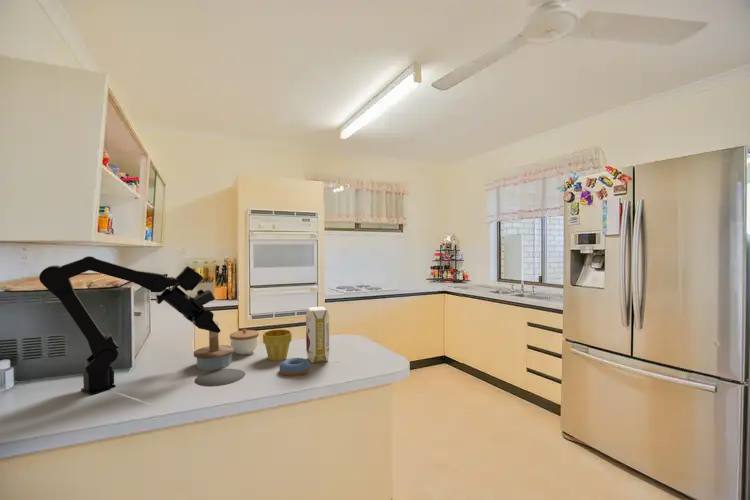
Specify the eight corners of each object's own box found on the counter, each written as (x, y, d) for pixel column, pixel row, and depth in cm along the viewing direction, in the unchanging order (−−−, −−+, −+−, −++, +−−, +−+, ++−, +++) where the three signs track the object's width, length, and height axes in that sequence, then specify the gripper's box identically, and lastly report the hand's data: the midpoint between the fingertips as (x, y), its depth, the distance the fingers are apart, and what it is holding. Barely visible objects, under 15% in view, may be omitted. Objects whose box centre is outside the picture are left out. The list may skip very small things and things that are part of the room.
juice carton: (325, 354, 141) (324, 305, 141) (330, 361, 133) (330, 309, 133) (305, 357, 139) (305, 307, 138) (309, 364, 131) (309, 311, 130)
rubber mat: (216, 391, 108) (216, 389, 108) (183, 382, 115) (183, 380, 115) (255, 374, 121) (255, 373, 121) (223, 367, 128) (223, 366, 128)
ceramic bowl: (211, 372, 122) (211, 359, 122) (190, 367, 127) (189, 354, 127) (237, 363, 132) (237, 350, 132) (217, 358, 137) (216, 346, 137)
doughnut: (294, 379, 116) (294, 364, 116) (272, 374, 121) (273, 360, 122) (315, 373, 124) (316, 359, 125) (294, 369, 130) (294, 355, 130)
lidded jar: (250, 358, 137) (249, 333, 137) (224, 356, 140) (223, 332, 139) (264, 349, 148) (263, 326, 148) (240, 348, 150) (239, 325, 150)
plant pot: (285, 363, 131) (285, 336, 131) (258, 362, 133) (257, 335, 133) (296, 354, 141) (295, 329, 141) (270, 353, 143) (270, 328, 143)
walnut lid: (223, 359, 123) (222, 327, 122) (185, 358, 124) (185, 326, 123) (239, 347, 136) (239, 318, 135) (205, 346, 137) (205, 318, 136)
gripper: (206, 286, 119) (240, 315, 126) (192, 280, 133) (224, 307, 141) (179, 313, 114) (217, 342, 121) (168, 304, 129) (202, 331, 136)
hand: (216, 329), depth 130 cm, fingers open, 9 cm apart
